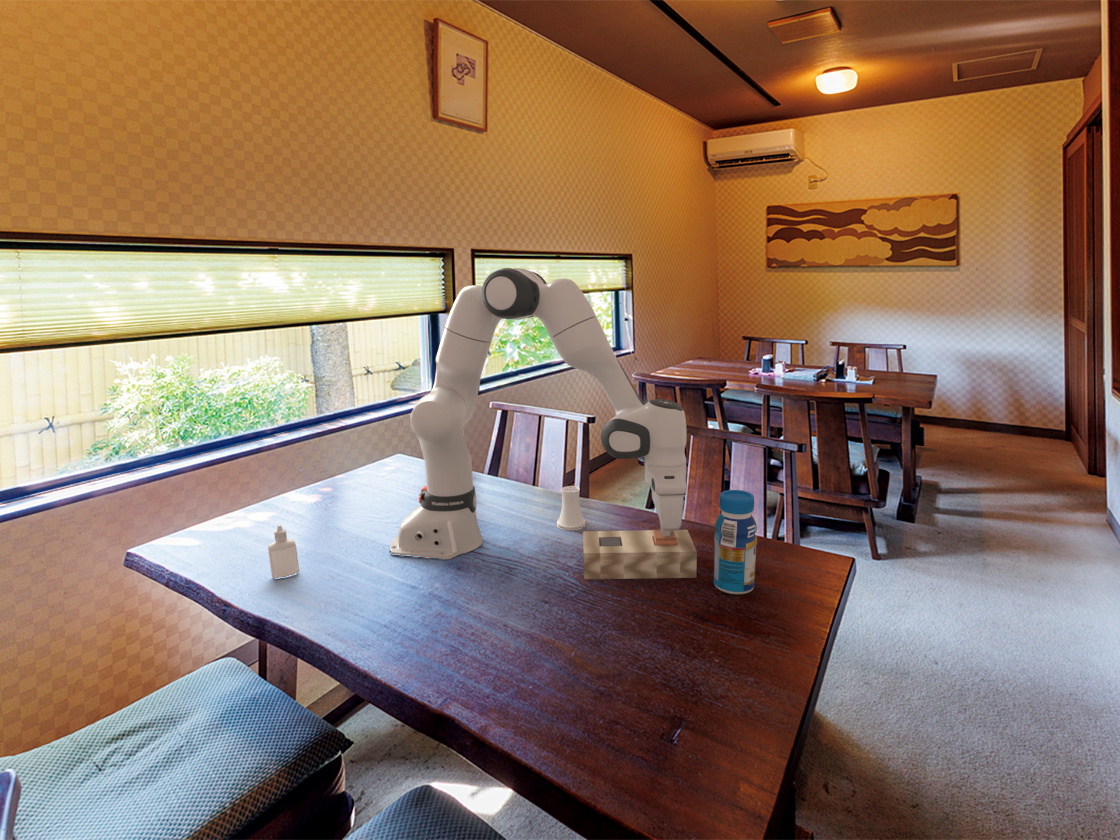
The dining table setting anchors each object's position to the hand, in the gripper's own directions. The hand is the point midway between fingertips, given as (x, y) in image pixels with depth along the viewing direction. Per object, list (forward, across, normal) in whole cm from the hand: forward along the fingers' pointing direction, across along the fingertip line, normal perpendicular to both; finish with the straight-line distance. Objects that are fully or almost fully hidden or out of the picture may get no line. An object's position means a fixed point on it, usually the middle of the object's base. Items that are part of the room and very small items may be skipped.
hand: (665, 534), depth 140 cm
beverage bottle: (+8, +10, +13) cm, 18 cm away
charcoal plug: (+7, 0, -12) cm, 14 cm away
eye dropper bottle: (+8, +2, -85) cm, 85 cm away
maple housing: (+8, 0, -6) cm, 10 cm away
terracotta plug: (+5, 0, 0) cm, 5 cm away
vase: (+8, -25, -21) cm, 34 cm away
